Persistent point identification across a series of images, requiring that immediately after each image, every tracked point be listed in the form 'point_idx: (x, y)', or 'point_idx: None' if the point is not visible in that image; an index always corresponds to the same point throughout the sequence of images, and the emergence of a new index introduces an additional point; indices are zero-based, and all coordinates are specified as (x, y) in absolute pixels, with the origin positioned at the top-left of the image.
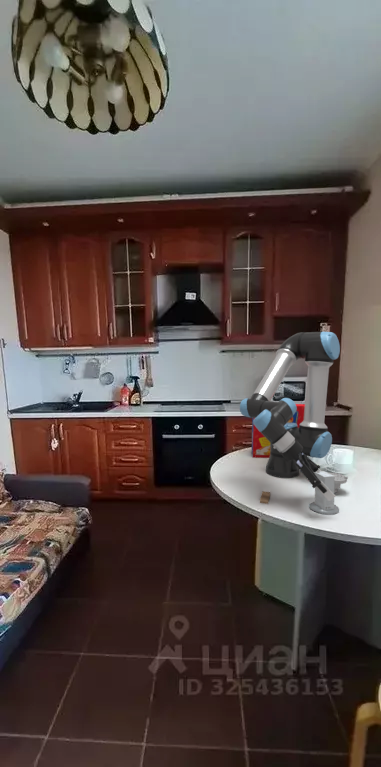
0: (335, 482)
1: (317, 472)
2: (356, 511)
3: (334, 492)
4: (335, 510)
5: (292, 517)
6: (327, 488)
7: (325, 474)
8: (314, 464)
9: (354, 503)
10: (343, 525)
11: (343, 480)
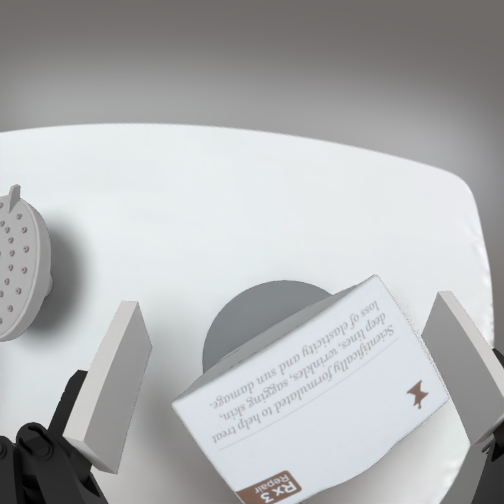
0: (46, 267)
1: (278, 499)
2: (265, 197)
3: (52, 280)
4: (315, 300)
5: (424, 478)
6: (487, 347)
7: (360, 399)
8: (18, 480)
9: (163, 197)
10: (439, 271)
11: (33, 214)
